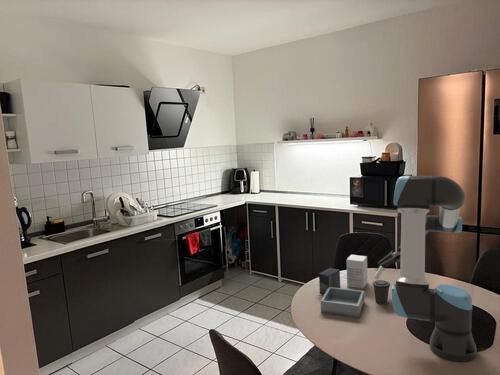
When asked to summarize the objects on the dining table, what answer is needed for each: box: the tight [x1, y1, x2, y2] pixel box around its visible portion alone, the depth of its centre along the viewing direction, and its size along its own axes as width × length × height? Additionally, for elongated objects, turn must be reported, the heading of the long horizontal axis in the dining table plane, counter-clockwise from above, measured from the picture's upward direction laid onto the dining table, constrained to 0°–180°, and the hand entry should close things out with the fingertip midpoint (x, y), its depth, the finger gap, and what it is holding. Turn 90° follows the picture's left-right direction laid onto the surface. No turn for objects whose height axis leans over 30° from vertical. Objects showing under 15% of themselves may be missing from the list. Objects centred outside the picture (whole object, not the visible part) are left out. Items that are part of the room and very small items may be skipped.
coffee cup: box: [372, 279, 391, 305], centre depth 181 cm, size 8×8×10 cm
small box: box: [318, 267, 341, 295], centre depth 197 cm, size 11×6×10 cm, turn 135°
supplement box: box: [346, 254, 369, 289], centre depth 203 cm, size 9×9×15 cm
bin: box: [320, 287, 365, 319], centre depth 178 cm, size 17×17×6 cm
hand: (385, 282), depth 183 cm, fingers open, 13 cm apart
